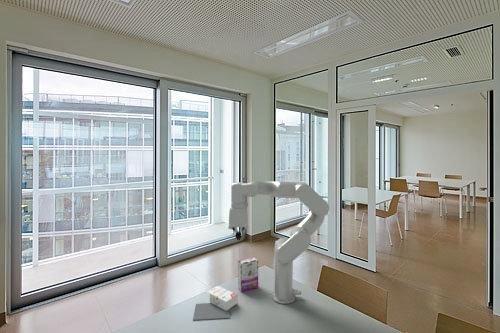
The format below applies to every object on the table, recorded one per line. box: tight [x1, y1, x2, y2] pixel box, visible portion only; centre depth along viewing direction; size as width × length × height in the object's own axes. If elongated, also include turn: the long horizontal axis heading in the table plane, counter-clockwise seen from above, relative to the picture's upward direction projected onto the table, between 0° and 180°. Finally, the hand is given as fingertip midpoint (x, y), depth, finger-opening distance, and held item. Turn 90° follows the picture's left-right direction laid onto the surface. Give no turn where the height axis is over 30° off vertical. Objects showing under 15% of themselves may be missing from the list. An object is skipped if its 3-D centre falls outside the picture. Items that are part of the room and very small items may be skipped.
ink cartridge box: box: [206, 285, 238, 311], centre depth 132 cm, size 9×5×15 cm
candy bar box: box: [237, 256, 259, 293], centre depth 147 cm, size 11×5×16 cm, turn 117°
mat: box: [192, 302, 231, 322], centre depth 124 cm, size 17×13×1 cm
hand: (238, 239), depth 137 cm, fingers closed
